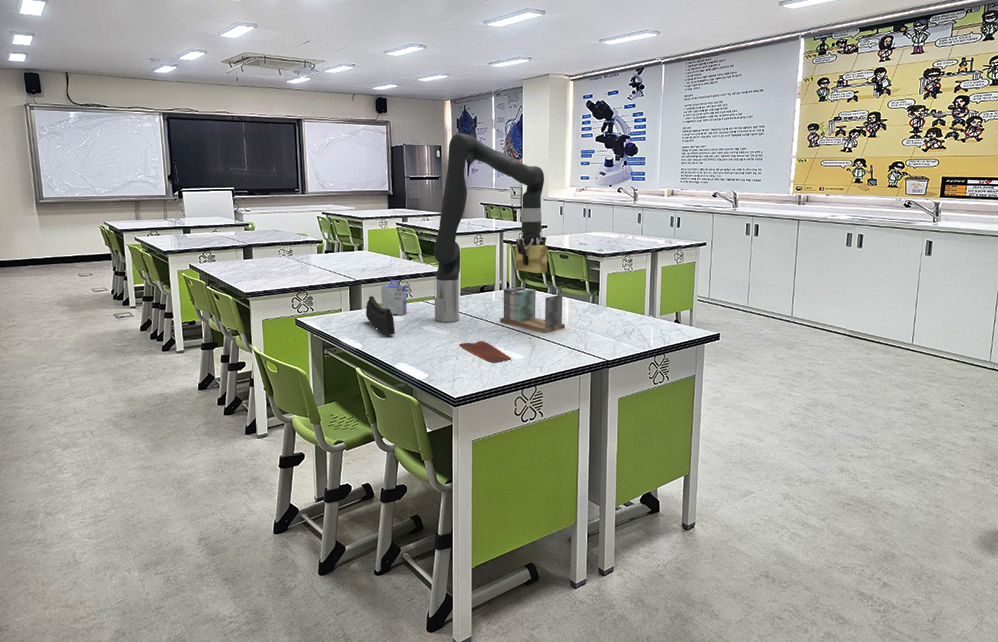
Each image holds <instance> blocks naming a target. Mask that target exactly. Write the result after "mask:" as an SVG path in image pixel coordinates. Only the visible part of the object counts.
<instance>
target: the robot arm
mask: <svg viewBox="0 0 998 642" xmlns="http://www.w3.org/2000/svg"><path fill="white" fill-rule="evenodd" d="M468 159H470V160H474V161H479V162H481V163H484V164H486V165H487V166H489V167H491V168H492V169H494V170H496V171H497V172H498V173H501V174H504V175H506V176H507V177H510V178H512V179H514V180H515V181H517V182H518V183H520V184H521V185H524V186H526V190H525V192H524V193H523V194H522V201H521V203H522V204H521V205H522V209H521V233H522V236H521V238H516V239H515V241H516V243H515V244H517V248H518V253H519V254H521V255H523V265H526V266H527V265H528V254H529V249H530V246H532V245H545V246H546V242H547V237H546V236H541V233H542V193H543V188H544V183H545V175H544V171H543V170H542V168H541V167H539V166H535V165H534V166H531V165H530V166H529V165H527V164H525V163H523V162H521V160H520V159H518V158H516V157H512V156H511V155H509V154H506V153H504V152H501V151H498V150H496V149H494V148H492V147H490V146H488V145H486V144H485V143H483V142H481V140H478V139H477V138H476V137H474V136H473V135H470V134H468V133H456V134H454V135H453V136H452V137H451V139H450V141H449V145H448V160H447V171H446V177H445V178H446V179H445V184H444V189H443V196H442V203H441V211H440V218H439V227H438V232H437V236H436V239H435V243H434V247H433V256H434V258H435V260H436V262H437V263H438V267H437V271H436V273H435V274H436V275H435V279H436V281H435V283H436V284H435V285H436V286H435V287H436V297H434V320H435V321H438V322H441V323H452V322H454V323H455V322H458V321H459V320H460V299H459V298H460V297H459V295H460V291H459V290H460V289H459V288H460V287H459V285H460V283H459V280H460V278H459V277H460V276H459V275H460V271H461V248H460V246H459V243H458V242H457V241H456V236H457V231H458V228H459V225H460V223H461V220H462V218H463V215H464V213H465V208H466V203H467V197H468V190H467V182H466V179H465V167H466V161H467V160H468ZM523 243H524V244H523ZM524 245H527V246H528V247H524ZM525 249H526V252H525Z"/></svg>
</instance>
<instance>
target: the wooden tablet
mask: <svg viewBox="0 0 998 642" xmlns="http://www.w3.org/2000/svg"><path fill="white" fill-rule="evenodd" d="M459 346H460V347H461V348H462V349H464V350H466V351H467V352H469V353H470V354H472V355H474V356H476V357H478V358H480V359H482V360H484V361H485V362H488V363H491V362H492V364H495V363H496V364H497V363H504V362H509V361H508V360H510V361H512V360H511V359H512V357H510V356H509V355H507V354H505V352H502V351H501V350H499V349H498V348H497V347H495V346H493V345H491V344H490V343H488V342H487V341H485V340H479V341H476V342H462V343H459ZM503 361H504V362H503Z"/></svg>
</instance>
